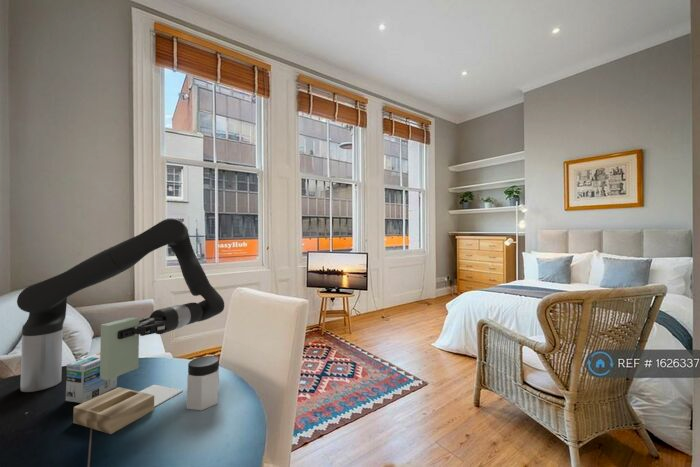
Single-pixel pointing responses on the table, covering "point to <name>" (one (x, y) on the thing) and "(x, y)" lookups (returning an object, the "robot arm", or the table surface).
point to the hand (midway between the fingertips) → (114, 334)
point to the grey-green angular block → (118, 349)
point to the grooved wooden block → (113, 410)
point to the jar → (203, 382)
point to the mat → (161, 393)
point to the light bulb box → (86, 380)
